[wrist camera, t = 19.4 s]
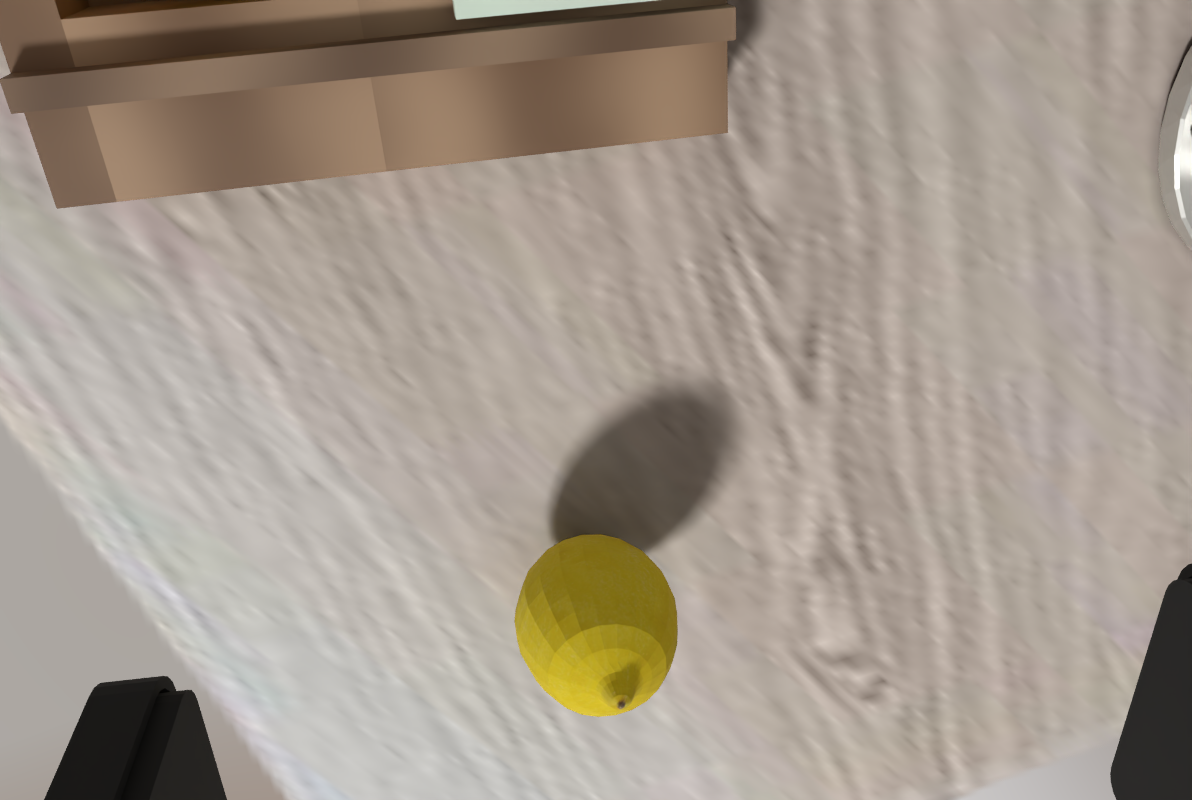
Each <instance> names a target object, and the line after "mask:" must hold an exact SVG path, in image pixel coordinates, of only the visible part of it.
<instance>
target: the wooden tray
mask: <svg viewBox="0 0 1192 800" xmlns="http://www.w3.org/2000/svg"><path fill="white" fill-rule="evenodd" d="M730 40H736V7H734V6H731V5H729V4H727V0H656V1H646V2H635V3H625V4H615V5H604V6H594V7H583V8H573V9H563V10H552V11H542V12H531V13H521V14H511V15H500V16H490V17H479V18H469V19H459V20H456V18H455V15H454V8H453V1H452V0H0V43H1V46H2V49H3V52H4V55H5V57H6V60H7V63H8V66H9V69H10V72H11V74H9V75H7V76H5V77H3V78H1V79H0V83H1V86H2V89H3V91H4V94H5V97H6V100H7V103H8V106H9V109H10V112H11V114H14V113H25V116H26V119H27V122H28V125H29V128H30V131H31V134H32V137H33V140H34V143H35V146H36V149H37V152H38V155H39V158H40V160H41V163H42V166H43V169H44V172H45V175H46V178H47V181H48V184H49V187H50V190H51V193H52V196H53V199H54V202H55V205H56V208H66V207H75V206H84V205H93V204H102V203H110V202H119V201H128V200H137V199H146V198H155V197H164V196H172V195H181V194H190V193H199V192H208V191H217V190H225V189H234V188H243V187H252V186H261V185H270V184H279V183H287V182H296V181H305V180H314V179H323V178H332V177H341V176H349V175H358V174H367V173H376V172H385V171H394V170H402V169H411V168H420V167H429V166H438V165H447V164H456V163H464V162H473V161H482V160H491V159H500V158H509V157H517V156H526V155H535V154H544V153H553V152H562V151H571V150H579V149H588V148H597V147H606V146H615V145H624V144H632V143H641V142H650V141H659V140H668V139H677V138H686V137H694V136H703V135H712V134H721V133H728V96H727V41H730Z"/></svg>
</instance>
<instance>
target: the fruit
mask: <svg viewBox="0 0 1192 800" xmlns="http://www.w3.org/2000/svg"><path fill="white" fill-rule="evenodd" d="M515 627H516V634H517V641H518V645H519V649H520V653H521V655H522V657H523V658H524V660H525V662H526V664H527V665H528V667H529V669H530V671H531V672H532V674H533V676H534V677H535V679H536V681H537V682H538V683H539V684H540V686H541V687H542V688H543V689H544V690H545V691H546V692H547V693H548V694H549V695H550V696H552V697H553V698H554V699H555V700H556V701H558V702H559V703H560V704H562V705H563V706H565V707H566V708H567V709H570V710H572V711H575V712H577V713H579V714H582V715H590V716H597V717H600V716H611V715H617V714H620V713H623V712H627V711H630V710H632V709H634V708H636V707H638V706H639V705H641V704H643V703H644V702H646V701H647V700H648V699H649V698H650V697H651V696H652V695H653V694H654V693H655V692H656V691H657V690H658V689H659V687H660V686H661V684H662V682H663V681H664V679H665V677H666V675H667V673H668V672H669V670H670V667H671V664H672V661H673V658H674V654H675V650H676V646H677V611H676V605H675V598H674V596H673V594H672V592H671V589H670V587H669V585H668V583H667V581H666V579H665V577H664V575H663V573H662V571H661V570H660V569H659V568H658V567H657V566H656V565H655V563H654V562H653V561H652V560H651V559H650V558H649V557H648V556H647V555H646V554H645V553H644V552H643V551H642V550H640V549H638V548H636V547H634V546H632V545H630V544H629V543H627V542H625V541H623V540H621V539H619V538H615V537H611V536H606V535H602V534H594V535H579V536H576V537H572V538H569V539H565V540H563V541H561V542H559V543H558V544H556V545H554V546H553V547H551V548H549V549H548V550H547V551H546V552H545V553H544V554H543V555H542V556H541V557H540V558H539V559H538V561H537V562H536V563H535V564H534V565H533V566H532V567H531V569H530V570H529V571H528V574H527V576H526V578H525V581H524V583H523V586H522V590H521V593H520V596H519V599H518V603H517V607H516V613H515Z"/></svg>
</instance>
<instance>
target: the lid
mask: <svg viewBox="0 0 1192 800" xmlns="http://www.w3.org/2000/svg"><path fill="white" fill-rule="evenodd" d="M452 1H453V8H454V15H455V18H456V20H459V19H469V18H479V17H490V16H500V15H511V14H521V13H531V12H542V11H552V10H563V9H573V8H583V7H594V6H604V5H615V4H625V3H635V2H646V1H656V0H452Z"/></svg>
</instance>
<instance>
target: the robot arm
mask: <svg viewBox="0 0 1192 800" xmlns="http://www.w3.org/2000/svg"><path fill="white" fill-rule="evenodd" d="M1158 172H1159V180H1160V188H1161V197H1162V200H1163V203H1164V205H1165V208H1166V211H1167V214H1168V217H1169V219H1170V222H1171V224H1172V226H1173V227H1174V229H1175V230H1176V232H1177V233H1178V235H1179V236H1180V238H1181V239H1182V241H1183V242H1184V243H1185V245H1186V246H1187V247H1188V248H1189V249H1191V250H1192V46H1191V48H1190V49H1189V51H1188V53H1187V54H1186V56H1185V58H1184V61H1183V63H1182V66H1181V68H1180V70H1179V73H1178V75H1177V78H1176V80H1175V83H1174V85H1173V87H1172V90H1171V92H1170V95H1169V99H1168V103H1167V107H1166V111H1165V115H1164V119H1163V123H1162V127H1161V131H1160V143H1159V157H1158ZM1110 775H1111V784H1112V788H1113V792H1114V795H1115V797H1116V800H1192V564H1189V565H1187V566H1186V567H1185V568H1184V569H1183V570H1182V571H1181V573H1180V575H1179V577H1178V579H1177V580H1175V581H1173V582H1172V583H1171V584H1169V586H1168V588H1167V590H1166V592H1165V595H1164V598H1163V601H1162V605H1161V608H1160V611H1159V614H1158V618H1157V621H1156V624H1155V627H1154V631H1153V634H1152V637H1151V640H1150V644H1149V647H1148V650H1147V653H1146V656H1145V660H1144V663H1143V666H1142V669H1141V673H1140V676H1139V679H1138V682H1137V686H1136V689H1135V692H1134V695H1133V699H1132V702H1131V705H1130V708H1129V712H1128V715H1127V718H1126V721H1125V724H1124V728H1123V731H1122V734H1121V737H1120V741H1119V744H1118V747H1117V751H1116V754H1115V757H1114V760H1113V763H1112V767H1111V774H1110ZM44 800H227V798H226V795H225V792H224V788H223V785H222V782H221V778H220V775H219V772H218V768H217V765H216V761H215V758H214V755H213V751H212V748H211V745H210V741H209V738H208V734H207V731H206V728H205V724H204V721H203V718H202V714H201V711H200V707H199V704H198V701H197V698H196V696H195V694H194V692H192V690H184V691H176V689H175V687H174V684H173V682H172V681H171V680H170V678H168V677H167V676H160V677H151V678H141V679H132V680H123V681H115V682H105V683H100V684H98V685H97V686H96V687H95V688H94V689H93V691H92V692H91V694H90V696H89V698H88V700H87V703H86V705H85V707H84V709H83V712H82V714H81V716H80V719H79V722H78V723H77V726H76V728H75V730H74V732H73V735H72V737H71V739H70V742H69V744H68V746H67V748H66V751H65V753H64V755H63V758H62V760H61V762H60V765H59V767H58V769H57V771H56V774H55V776H54V779H53V781H52V783H51V785H50V788H49V790H48V792H47V795H46V797H45V799H44Z"/></svg>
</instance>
